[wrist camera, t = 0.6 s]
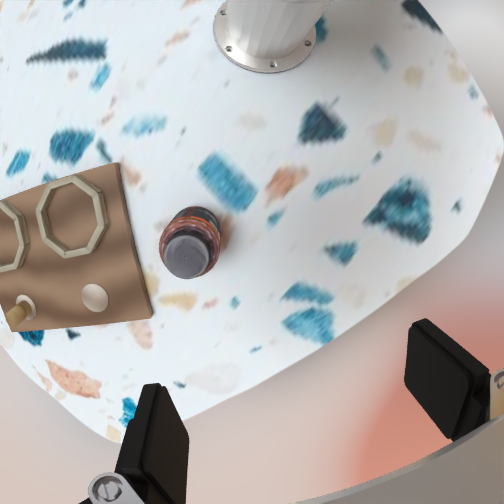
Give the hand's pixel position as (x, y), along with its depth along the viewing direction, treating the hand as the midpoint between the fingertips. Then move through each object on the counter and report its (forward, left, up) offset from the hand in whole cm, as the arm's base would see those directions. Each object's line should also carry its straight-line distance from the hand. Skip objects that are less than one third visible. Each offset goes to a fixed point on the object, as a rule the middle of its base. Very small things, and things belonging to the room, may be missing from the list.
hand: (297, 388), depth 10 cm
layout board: (-1, -27, -28) cm, 39 cm away
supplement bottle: (-1, -6, -29) cm, 29 cm away
